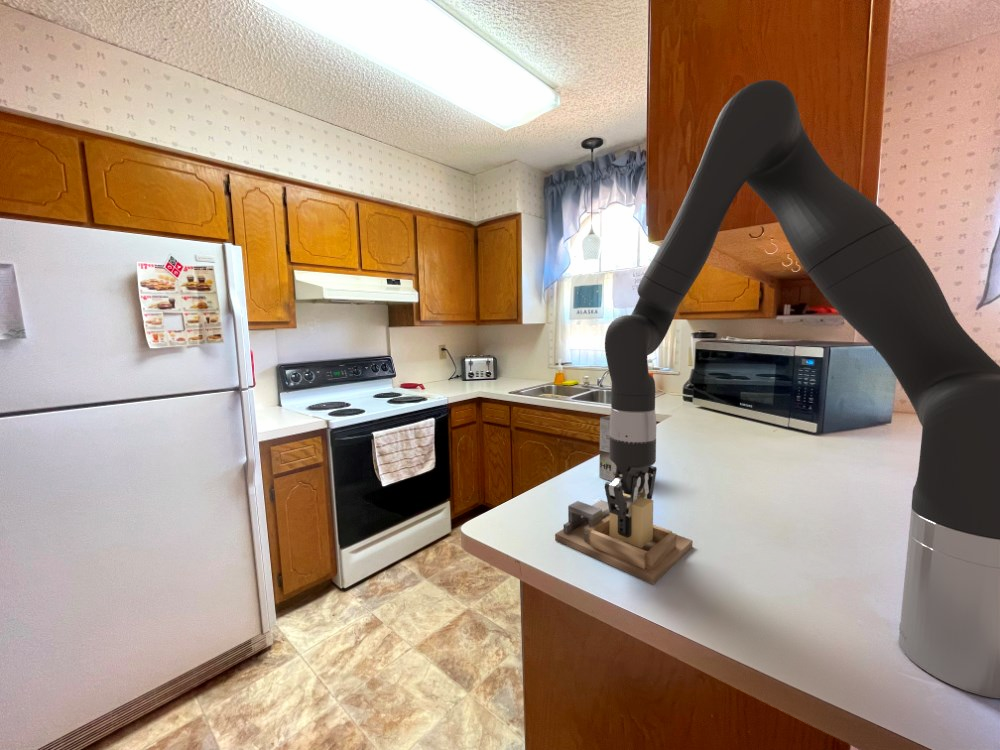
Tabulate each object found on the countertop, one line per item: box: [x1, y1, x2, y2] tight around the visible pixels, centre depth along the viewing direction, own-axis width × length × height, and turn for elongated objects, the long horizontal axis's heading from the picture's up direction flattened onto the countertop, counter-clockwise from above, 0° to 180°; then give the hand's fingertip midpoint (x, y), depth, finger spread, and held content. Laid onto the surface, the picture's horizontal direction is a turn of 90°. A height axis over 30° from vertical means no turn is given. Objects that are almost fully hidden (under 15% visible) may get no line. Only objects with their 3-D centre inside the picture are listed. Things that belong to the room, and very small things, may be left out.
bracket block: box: [609, 493, 654, 548], centre depth 70 cm, size 6×4×7 cm, turn 44°
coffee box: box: [598, 415, 616, 483], centre depth 106 cm, size 9×6×16 cm
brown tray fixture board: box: [554, 500, 694, 585], centre depth 73 cm, size 19×15×6 cm
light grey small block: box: [587, 499, 610, 523], centre depth 80 cm, size 3×5×3 cm, turn 134°
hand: (631, 530), depth 71 cm, fingers closed on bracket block, 4 cm apart
